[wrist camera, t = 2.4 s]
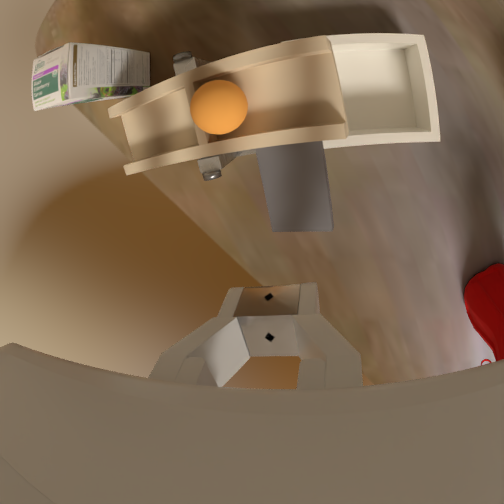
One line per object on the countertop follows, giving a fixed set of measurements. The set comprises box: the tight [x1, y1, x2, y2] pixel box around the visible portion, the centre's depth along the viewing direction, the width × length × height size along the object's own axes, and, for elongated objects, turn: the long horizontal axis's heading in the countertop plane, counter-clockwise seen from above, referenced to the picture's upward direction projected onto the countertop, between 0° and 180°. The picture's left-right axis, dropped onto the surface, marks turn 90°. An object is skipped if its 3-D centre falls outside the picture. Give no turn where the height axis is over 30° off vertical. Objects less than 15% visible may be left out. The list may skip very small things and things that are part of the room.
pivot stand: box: [173, 51, 256, 181], centre depth 26 cm, size 12×5×10 cm, turn 13°
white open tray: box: [281, 33, 440, 149], centre depth 24 cm, size 11×14×5 cm
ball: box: [190, 80, 248, 134], centre depth 18 cm, size 4×4×4 cm
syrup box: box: [32, 42, 150, 111], centre depth 23 cm, size 6×6×14 cm
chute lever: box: [108, 35, 349, 232], centre depth 24 cm, size 20×14×8 cm
